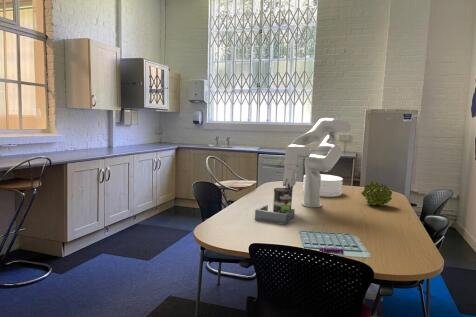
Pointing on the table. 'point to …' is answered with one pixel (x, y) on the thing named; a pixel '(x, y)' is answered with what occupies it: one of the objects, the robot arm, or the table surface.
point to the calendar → (334, 243)
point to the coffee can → (282, 200)
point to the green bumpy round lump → (377, 194)
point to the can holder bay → (273, 215)
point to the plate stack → (329, 185)
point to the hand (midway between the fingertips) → (288, 198)
